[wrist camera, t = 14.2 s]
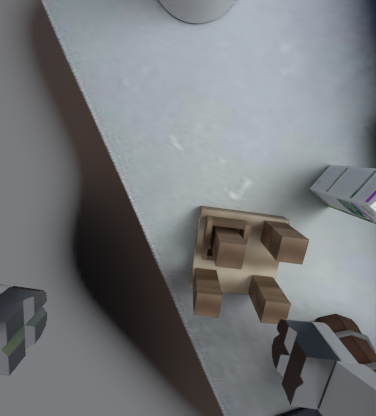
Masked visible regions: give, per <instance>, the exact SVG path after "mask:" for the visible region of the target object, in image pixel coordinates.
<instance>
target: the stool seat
mask: <svg viewBox="0 0 376 416" xmlns="http://www.w3.org/2000/svg"><path fill="white" fill-rule="evenodd" d="M289 222H290V221H289V220H288V219H287V218H285V217H281V216H274V215H266V214H259V213H251V212H244V211H236V210H228V209H221V208H213V207H206V206H201V211H200V218H199V224H198V231H197V237H196V243H195V250H194V256H193V263H192V269H191V276H190V288H193V309H194V315H201V316H210V317H218V316H219V311H220V306H221V301H222V292H228V293H237V294H245V295H249V296H250V298H251V300H252V303H253V305H254V308H255V310H256V312H257V315H258V317H259V319H260V322H261V323H270V324H278V322H279V321H280V319H287V316H288V313H289V309H290V306H291V304H290V302H289V301H288V299H287V298H286V296H285V295H284V293H283V292H282V290H281V289H280V287H279V286H278V284H277V283H276V281H275V277H276V273H277V269H278V265H279V262H287V263H295V264H302V263H303V260H304V256H305V253H306V249H307V246H308V242H309V239H307V238H306V237H305V236H303V235H302V234H301V233H299V232H298V231H296V230H295V229H294V228H292V227H291V226H290V225H289ZM214 226H220V227H228V228H236V229H237V230H238V232H239V234H240V235H241V237H242V239H243V240H244V242H245V243H246V245H247V247H246V251H245V256H244V261H243V265H242V270H240V269H232V268H224V267H216V266H215V262H214V258H213V253H212V249H211V240H212V234H213V228H214Z"/></svg>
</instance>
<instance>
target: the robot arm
mask: <svg viewBox="0 0 376 416" xmlns="http://www.w3.org/2000/svg"><path fill="white" fill-rule="evenodd" d="M159 1H160V3H161V4H162V5H163V7H164V8H165V9H166V10H167V11H168V12H169V13H170V14H172V15H173V16H175V17H176V18H178V19H180V20H182V21H185V22H189V23H206V22H209V21H212V20H215V19H217V18H218V17H220V16H222V15H223V14H224V13H225V12H227V11H228V10H229V9H230V7H231V6H232V5H233V4H234V3H235V1H236V0H159ZM46 301H47V298H46V292H45V291H44V290H39V289H31V288H25V287H18V286H9V285H2V284H0V375H7V376H9V375H10V374H11V373H12V371H13V370H14V369H15V368H16V367H17V365H18V364H19V363H20V362H21V360H22V359H23V358H24V357H25V349H26V348H27V347H29V346H31V345H33V344H35V343H36V342H37V340H38V339H39V338H40V336H41V334H42V332H43V330H44V328H45V325H46V321H47V312H46V311H45V309H44V308H43V307H42V306H43V305H44V304H45V302H46ZM277 330H278V332H279V335H278V336H276V337H275V338H274V340H273V344H272V358H273V363H274V365H275V368H276V370H277V371H278V372H279V373H280V374H281V375H282V376H283V381H282V385H283V388H284V390H285V393H286V395H287V398H288V400H289V403H290V405H291V406H296V407H303V408H310V409H318V410H319V412H320V413H321V415H322V416H376V372H374V371H373V370H371V369H370V368H368V367H367V366H365V365H364V364H359V363H358V362H357V361H356V360H355V358H354V357H353V356H352V355H351V353H350V352H349V351H348V350H347V348H346V347H345V346H344V345H343V343H342V342H341V341H340V340H339V339H338V337H337V336H336V335H335V334H334V332H333V331H332V330H331V329H330V327H329V326H328V325H327V324H325V323H322V322H310V321H309V322H306V321H297V320H288V319H280V321H279V322H278V325H277Z"/></svg>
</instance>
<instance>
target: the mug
mask: <svg viewBox="0 0 376 416" xmlns="http://www.w3.org/2000/svg"><path fill="white" fill-rule="evenodd" d="M315 322H322V323H325V324H327V325H328V326H329V327H330V329H331V330H332V331H333V332H334V334H335V335H336V336H337V337H338V339H339V340H340V341H341V342H342V343H343V345H344V346H345V347H346V348H347V350H348V351H349V352H350V353H351V355H352V356H353V357H354V358H355V360H356V361H357V362H358V363H359V364H364V365H365V366H367V367H368V368H370V369H371V370H373V371H374V372H376V354H375V349H374V347H373V346H372V344H371V342H370V340H369V338H368V337H367V336H366V335H363V334H362V333H361V332H360V330H359V328H358V326H357V325H356V324H355V323H354V322H353V321H352V320H351V319H349V318H346V317H343V316H340V315H337V314H334V315H329V316H325V317H320V318H318V319H317V320H316V321H315Z"/></svg>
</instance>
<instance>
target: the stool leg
mask: <svg viewBox="0 0 376 416" xmlns="http://www.w3.org/2000/svg"><path fill="white" fill-rule="evenodd" d="M246 247H247V245H246V243H245V242H244V240H243V239H242V237H241V235H240V234H239V232H238V230H237V229H236V228H228V227H220V226H214V228H213V234H212V240H211V249H212V253H213V258H214V262H215V266H216V267H224V268H232V269H240V270H242V265H243V261H244V256H245V251H246Z"/></svg>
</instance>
